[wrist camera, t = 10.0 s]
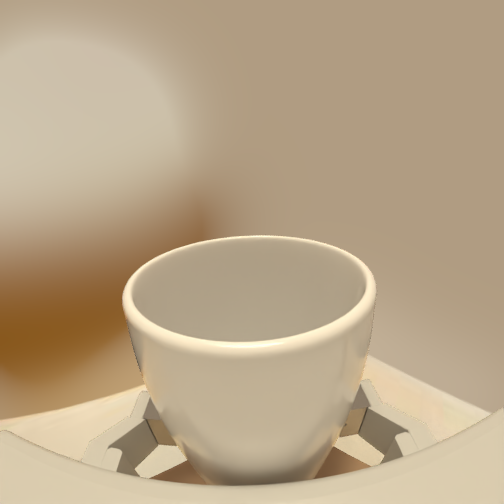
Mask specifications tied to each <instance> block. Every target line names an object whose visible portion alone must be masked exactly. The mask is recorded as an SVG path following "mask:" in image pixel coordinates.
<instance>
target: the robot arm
mask: <svg viewBox="0 0 504 504" xmlns="http://www.w3.org/2000/svg"><path fill="white" fill-rule="evenodd" d="M355 434H358V435H359V436H361V437H362V438H363V439H364V440H366V441H367V442H368V443H369V444H371V445H372V446H373V447H375V448H376V449H377V450H379V451H380V452H381V453H383V454H384V455H385V456H384V458H383V460H382V462H381V463H380V464H379V465H375V466H372V467H368V468H365V469H361V470H357V471H353V472H348V473H344V474H339V475H335V476H329V477H324V478H318V479H312V480H305V481H298V482H290V483H280V484H267V485H244V486H222V485H199V484H187V483H177V482H169V481H161V480H155V479H149V478H143V477H140V476H139V475H138V473H137V472H136V471H135V468H136V467H137V466H138V465H139V464H140V463H141V462H142V461H143V460H144V459H145V458H146V457H147V456H148V455H149V454H150V453H151V452H152V451H153V450H154V449H155V448H156V447H157V446H158V445H169V446H177V445H176V443H175V442H174V440H173V439H172V437H171V436H170V434H169V433H168V431H167V429H166V428H165V426H164V424H163V422H162V420H161V419H160V417H159V415H158V413H157V411H156V409H155V406H154V404H153V402H152V400H151V398H150V395H149V393H148V392H147V391H142V392H141V393H140V394H139V397H138V399H137V402H136V404H135V406H134V409H133V411H132V414H131V417H126V418H125V419H123V420H122V421H120V422H119V423H117V424H116V425H114V426H113V427H111V428H110V429H108V430H107V431H105V432H103V433H102V434H100V435H99V436H97V437H96V438H94V439H93V440H91V441H90V442H89V444H88V446H87V448H86V451H85V453H84V455H83V457H82V460H81V462H80V461H77V460H74V459H71V458H68V457H66V456H63V455H60V454H58V453H55V452H53V451H50V450H48V449H45V448H43V447H41V446H38V445H36V444H34V443H32V442H30V441H27V440H25V439H23V438H21V437H19V436H17V435H15V434H14V433H12V432H10V431H7V430H2V431H0V504H504V407H502V408H500V409H499V410H497V411H496V412H494V413H493V414H491V415H489V416H488V417H486V418H484V419H483V420H481V421H479V422H478V423H476V424H474V425H472V426H470V427H468V428H467V429H465V430H463V431H461V432H459V433H457V434H455V435H453V436H451V437H449V438H447V439H445V440H442V441H440V442H437V440H436V439H435V437H434V435H433V434H432V432H431V430H430V429H429V427H428V425H427V424H426V423H424V422H422V421H420V420H418V419H416V418H414V417H412V416H410V415H408V414H406V413H404V412H402V411H400V410H398V409H396V408H394V407H393V406H391V405H389V404H387V403H384V404H383V403H382V401H381V399H380V397H379V396H378V394H377V392H376V390H375V388H374V386H373V385H372V383H371V381H370V380H369V379H366V380H362V381H361V382H360V386H359V389H358V392H357V395H356V398H355V401H354V404H353V406H352V409H351V412H350V414H349V416H348V419H347V421H346V423H345V425H344V427H343V429H342V431H341V433H340V435H339V437H345V436H350V435H355Z"/></svg>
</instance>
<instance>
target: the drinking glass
mask: <svg viewBox="0 0 504 504" xmlns="http://www.w3.org/2000/svg"><path fill="white" fill-rule="evenodd" d="M376 295H377V287H376V282H375V279H374V276H373V274H372V272H371V271H370V269H369V268H368V267H367V266H366V265H365V264H364V263H363V262H362V261H361V260H360V259H358V258H357V257H355V256H354V255H352V254H350V253H349V252H347V251H345V250H342V249H340V248H337V247H335V246H332V245H328V244H325V243H321V242H317V241H313V240H308V239H302V238H294V237H285V236H238V237H228V238H220V239H214V240H208V241H203V242H199V243H194V244H190V245H187V246H184V247H180V248H177V249H174V250H171V251H169V252H166V253H164V254H162V255H160V256H158V257H156V258H154V259H152V260H150V261H149V262H147V263H146V264H144V265H143V266H142V267H141V268H139V269H138V270H137V271H136V272H135V273H134V274H133V275H132V276H131V278H130V279H129V280H128V282H127V284H126V286H125V288H124V292H123V298H122V303H123V309H124V313H125V317H126V321H127V326H128V329H129V334H130V338H131V342H132V346H133V350H134V353H135V356H136V360H137V363H138V366H139V369H140V372H141V375H142V378H143V380H144V383H145V386H146V388H147V391H148V393H149V395H150V398H151V400H152V402H153V404H154V406H155V409H156V411H157V413H158V415H159V417H160V419H161V420H162V422H163V424H164V426H165V428H166V429H167V431H168V433H169V434H170V436H171V437H172V439H173V440H174V442H175V443H176V445H177V446H178V448H179V449H180V451H181V452H182V453H183V455H184V456H185V457H186V459H187V460H188V461H189V463H190V464H191V465H192V467H193V468H194V469H195V471H196V472H197V473H198V475H199V476H200V477H201V478H202V480H203V481H204V482H205V483H206V485H222V486H244V485H267V484H280V483H290V482H298V481H305V480H312V479H314V478H315V477H316V475H317V473H318V472H319V470H320V468H321V467H322V465H323V463H324V462H325V460H326V458H327V457H328V455H329V453H330V452H331V450H332V448H333V446H334V444H335V443H336V441H337V439H338V437H339V435H340V433H341V431H342V429H343V427H344V425H345V423H346V421H347V419H348V416H349V414H350V412H351V409H352V406H353V404H354V401H355V398H356V395H357V392H358V389H359V386H360V382H361V379H362V375H363V371H364V368H365V363H366V359H367V354H368V349H369V343H370V338H371V332H372V325H373V317H374V309H375V301H376Z"/></svg>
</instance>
